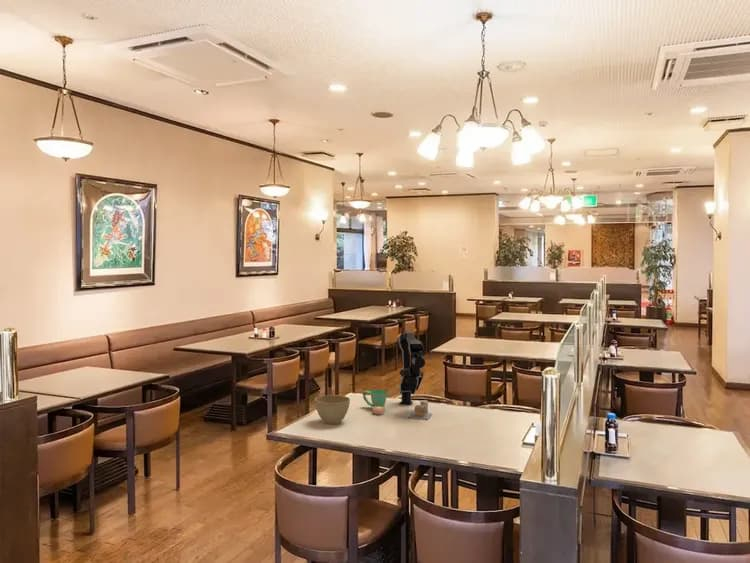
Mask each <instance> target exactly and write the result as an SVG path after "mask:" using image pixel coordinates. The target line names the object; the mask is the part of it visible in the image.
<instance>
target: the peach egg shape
mask: <svg viewBox="0 0 750 563" xmlns="http://www.w3.org/2000/svg"><path fill="white" fill-rule="evenodd" d="M384 409H385V406H384V407H382V406H374V407H372V415H373V416H374V415H375V416H376V415H377V416H378V415H379V416H381V415H384V413H385V410H384Z"/></svg>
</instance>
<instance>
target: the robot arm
mask: <svg viewBox="0 0 750 563" xmlns="http://www.w3.org/2000/svg"><path fill="white" fill-rule="evenodd" d="M398 336H399V337H398V340H397V341H398V345H399V348H400V350H401V355H402V369H400V370H399V375H400V377H401V378H400V383H399V385H398V393H399V394H401V401H400V402H399V404H400V403H401V404H402V405H411V404H412V403H413V400H412V395H414V394H415V393H416V391H418V390H419V388H420V385H421V383H422V381H423V378H424V376H425V371H423V370H421V369H422V368H423V367H424V366H425V364H426V361H425V358H423V356H425V352H426V351H425V346H424V344H423V343H422V341H420V340H418V339H417V338H416V336H415V335H414V332H413V331H409V330H408V331H404V332H403V333H402V334H400V335H398ZM401 404H400V405H401Z"/></svg>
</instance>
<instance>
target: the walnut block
mask: <svg viewBox="0 0 750 563" xmlns="http://www.w3.org/2000/svg"><path fill="white" fill-rule="evenodd" d="M414 412H415V416H420V417H424V416H425V415H426V405H420V404H416V405H414Z"/></svg>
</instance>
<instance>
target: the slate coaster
mask: <svg viewBox="0 0 750 563" xmlns="http://www.w3.org/2000/svg"><path fill="white" fill-rule="evenodd" d="M432 415H433V413H431V412H430V413H429V412H428V413H426V415H425V416H424V417H420V416H415V411H412V412H411V413H410V414H409V415H408V416H407V419H412V418H413V420H414V419H415V420H422V421H423V420H426V421H428V420H430V418H431V417H432Z"/></svg>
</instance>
